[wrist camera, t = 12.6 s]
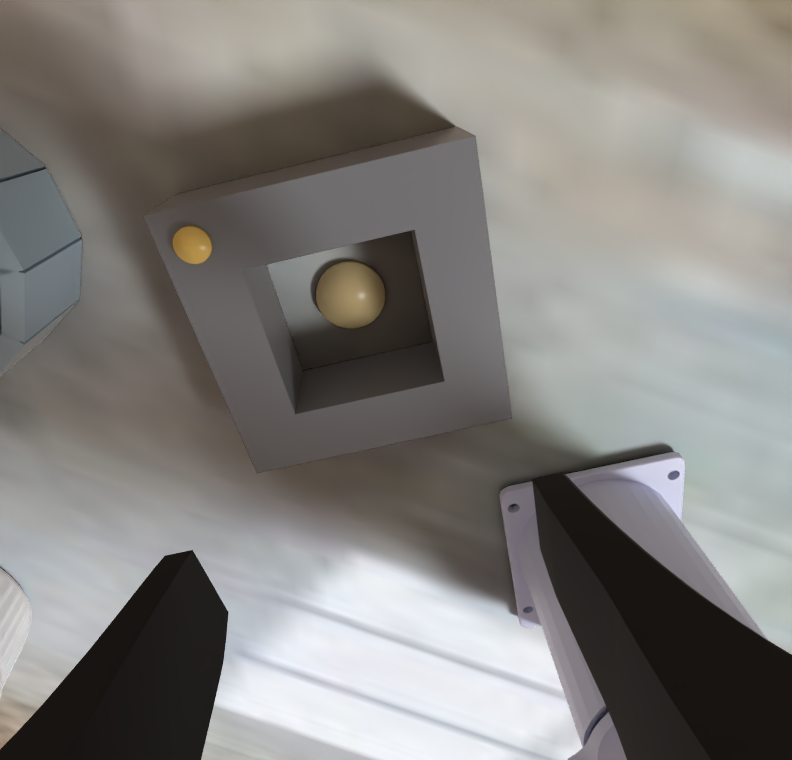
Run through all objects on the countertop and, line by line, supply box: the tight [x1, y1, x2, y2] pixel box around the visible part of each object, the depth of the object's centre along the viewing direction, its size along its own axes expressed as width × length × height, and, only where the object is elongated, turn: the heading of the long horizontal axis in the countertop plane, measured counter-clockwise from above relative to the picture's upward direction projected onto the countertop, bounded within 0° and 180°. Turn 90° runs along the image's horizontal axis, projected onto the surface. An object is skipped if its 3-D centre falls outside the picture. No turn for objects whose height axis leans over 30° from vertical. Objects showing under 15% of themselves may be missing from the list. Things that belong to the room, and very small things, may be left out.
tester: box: [143, 126, 512, 473], centre depth 18 cm, size 9×9×3 cm
